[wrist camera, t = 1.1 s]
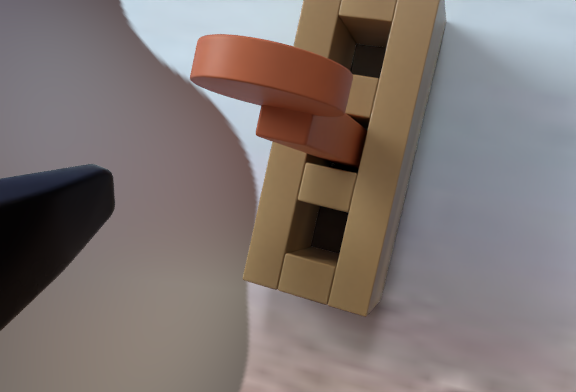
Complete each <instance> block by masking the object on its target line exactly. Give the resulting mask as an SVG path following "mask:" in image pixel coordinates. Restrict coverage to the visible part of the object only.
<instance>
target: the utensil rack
mask: <svg viewBox="0 0 576 392" xmlns="http://www.w3.org/2000/svg"><path fill="white" fill-rule="evenodd" d="M445 24H446V13H445V1H444V0H303V5H302V10H301V14H300V19H299V23H298V28H297V32H296V37H295V42H294V46H293V47H297V48H300V49H304V50H307V51H310V52H313V53H315V54H318V55H321V56H323V57H326V58H328V59H331V60H333V61H335V62H337V63H339V64H341V65H342V66H344V67H345V68H347V69H348V70H349V71H350V70H351V66H352V62H353V57H354V53H355V48H356V44H360V45H367V46H375V47H382V48H386V52H385V56H384V61H383V65H382V69H381V74H380V78H379V79H378V78H374V77H367V76H361V75H354V74H353V81H352V85H351V89H350V94H349V98H348V103H347V107H346V112H345V113H346V114H347V115H349V116H350V117H351V118H352V119H353V120H355V121H356V122H357V123H358V124H360V125H361V126H362V127H363V128H367V129H368V131H367V135H366V140H365V144H364V148H363V153H362V157H361V162H360V166H359V170H358V174H357V173H354V172H349V171H344V170H340V169H335V168H330V167H329V164H330V161H327V160H324V159H322V158H319V157H316V156H313V155H310V154H307V153H304V152H302V151H299V150H296V149H293V148H290V147H287V146H284V145H281V144H279V143H276V142H272V147H271V151H270V156H269V160H268V165H267V170H266V174H265V179H264V183H263V188H262V192H261V197H260V201H259V206H258V211H257V215H256V220H255V224H254V229H253V233H252V238H251V243H250V247H249V252H248V256H247V261H246V265H245V270H244V275H243V280H245V281H248V282H252V283H255V284H258V285H262V286H265V287H268V288H272V289H275V290H277V289H278V290H279V291H282V292H285V293H289V294H292V295H295V296H299V297H302V298H305V299H309V300H312V301H315V302H318V303H322V304H325V305H327V304H328V306H331V307H334V308H338V309H341V310H344V311H348V312H351V313H354V314H358V315H361V316H364V317H366V316H367V315H368V314H369V313H370V312H371V311H372V309H373V308H374V307H375V306H376V305H377V304H378V303H379V301H380V300H381V298H382V294H383V290H384V286H385V281H386V277H387V273H388V268H389V264H390V260H391V256H392V251H393V247H394V243H395V238H396V234H397V230H398V226H399V221H400V217H401V213H402V208H403V204H404V200H405V196H406V191H407V187H408V183H409V178H410V174H411V170H412V166H413V161H414V157H415V153H416V148H417V144H418V140H419V136H420V131H421V127H422V123H423V118H424V114H425V110H426V106H427V101H428V97H429V93H430V88H431V84H432V80H433V76H434V71H435V67H436V63H437V58H438V54H439V50H440V46H441V41H442V37H443V33H444V28H445ZM320 206H323V207H327V208H331V209H335V210H339V211H343V212H349V214H348V219H347V223H346V227H345V232H344V236H343V240H342V245H341V249H340V254H339V253H335V252H332V251H328V250H324V249H320V248H317V247H313V246H312V247H311V244H312V239H313V235H314V230H315V226H316V221H317V217H318V213H319V208H320Z"/></svg>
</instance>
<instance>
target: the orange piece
mask: <svg viewBox="0 0 576 392" xmlns="http://www.w3.org/2000/svg"><path fill="white" fill-rule="evenodd" d="M190 79H191V81H192V82H193V83H195V84H196V85H198V86H200V87H202V88H205V89H207V90H210V91H213V92H215V93H218V94H221V95H224V96H228V97H231V98H234V99H238V100H241V101H245V102H249V103H253V104H257V105H261V110H260V115H259V120H258V124H257V129H256V135H257V136H258V137H261V138H264V139H267V140H270V141H273V142H276V143H279V144H281V145H284V146H287V147H290V148H293V149H296V150H299V151H302V152H304V153H307V154H310V155H313V156H316V157H319V158H322V159H324V160H327V161H330V162H333V163H336V164H340V165H344V166H349V167H354V168H358V169H359V166H360V162H361V157H362V153H363V148H364V144H365V140H366V135H367V130H366V129H365V128H363V127H362V126H361V125H360V124H358V123H357V122H356V121H355V120H353V119H352V118H351V117H350V116H349V115H347V114H346V113H345V112H346V107H347V103H348V98H349V94H350V89H351V85H352V81H353V74H352V73H351V72H350V71H349V70H348V69H347V68H345V67H344V66H342V65H341V64H339V63H337V62H335V61H333V60H331V59H328V58H326V57H323V56H321V55H318V54H315V53H313V52H310V51H307V50H304V49H300V48H297V47H293V46H290V45H286V44H282V43H278V42H273V41H269V40H264V39H258V38H252V37H246V36H238V35H225V34H215V35H206V36H202V37H201V38H199V40H198V42H197V46H196V51H195V56H194V61H193V65H192V70H191V75H190Z"/></svg>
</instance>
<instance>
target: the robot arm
mask: <svg viewBox="0 0 576 392" xmlns="http://www.w3.org/2000/svg"><path fill="white" fill-rule="evenodd" d="M114 207H115V199H114V183H113V176H112V173H111V172H110V171H109V170H108V169H105V168H102V167H100V166H97V165H94V164H88V165H81V166H75V167H70V168H63V169H57V170H51V171H44V172H38V173H32V174H26V175H20V176H14V177H8V178H1V179H0V331H1V330H2V329H3V328H4V327H5V326H6V325H7V324H8V323H9V322H10V321H11V320H12V319H14V317H16V315H18V314H19V313H20V312H21V311H22V310H23V309H24V308H25V307H26V306H27V305H28V304H29V303H30V302H31V301H32V300H34V299H35V298H36V297H37V296H38V295H39V294H40V293H41V292H42V291H43V290H44V289H45V288H46V287H47V286H48V285H49V284H50V283H51V282H52V281H53V280H55V279H56V278H57V277H58V276H59V275H60V274H61V272H63V270H65V268H66V267H67V266H68V265H69V264H70V263H71V262H72V261H73V260H74V258H75V257H76V256H77V255H78V254H79V253H80V251H81V250H82V249H83V248H84V247H85V246H86V244H87V243H88V242H89V241H90V240H91V239H92V237H93V236H94V235H95V234H96V233H97V232H98V230H99V229H100V228H101V227H102V226H103V225H104V223H105V222H106V221H107V220H108V219H109V217H110V216H111V215H112V213H113V211H114Z"/></svg>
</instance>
